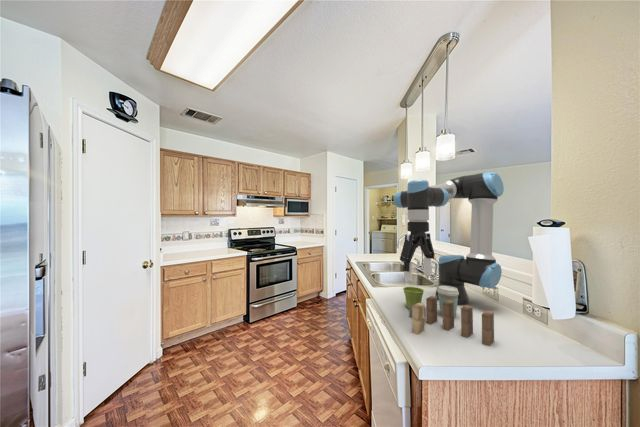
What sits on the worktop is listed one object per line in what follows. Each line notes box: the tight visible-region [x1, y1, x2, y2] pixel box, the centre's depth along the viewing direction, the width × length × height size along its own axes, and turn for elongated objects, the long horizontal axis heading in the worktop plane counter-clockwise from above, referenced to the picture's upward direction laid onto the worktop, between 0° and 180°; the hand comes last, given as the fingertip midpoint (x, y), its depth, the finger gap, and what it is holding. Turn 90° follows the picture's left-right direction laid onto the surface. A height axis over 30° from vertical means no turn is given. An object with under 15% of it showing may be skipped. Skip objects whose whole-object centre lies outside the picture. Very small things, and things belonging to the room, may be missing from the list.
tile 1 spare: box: [411, 302, 426, 335], centre depth 87 cm, size 5×2×10 cm, turn 127°
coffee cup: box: [436, 286, 459, 319], centre depth 101 cm, size 8×8×12 cm
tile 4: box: [442, 300, 455, 332], centre depth 90 cm, size 5×2×10 cm, turn 127°
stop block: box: [408, 306, 426, 319], centre depth 100 cm, size 6×4×4 cm, turn 127°
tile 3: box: [460, 304, 474, 339], centre depth 84 cm, size 5×2×10 cm, turn 127°
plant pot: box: [402, 286, 425, 309], centre depth 110 cm, size 9×9×9 cm
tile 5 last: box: [425, 295, 438, 325], centre depth 95 cm, size 5×2×10 cm, turn 127°
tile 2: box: [481, 310, 495, 347], centre depth 79 cm, size 5×2×10 cm, turn 127°
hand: (418, 277), depth 87 cm, fingers open, 13 cm apart
